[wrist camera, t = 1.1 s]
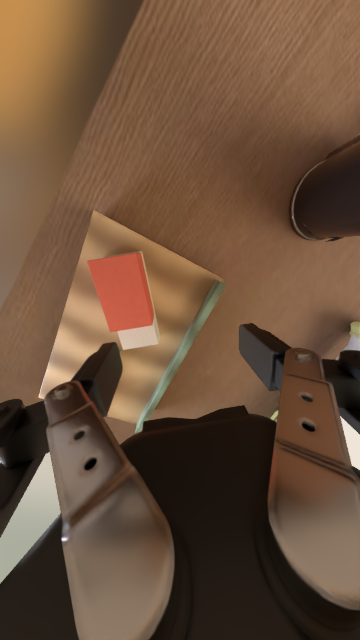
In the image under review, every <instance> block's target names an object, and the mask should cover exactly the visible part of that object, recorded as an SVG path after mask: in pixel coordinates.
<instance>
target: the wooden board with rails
mask: <svg viewBox="0 0 360 640" xmlns="http://www.w3.org/2000/svg"><path fill="white" fill-rule="evenodd" d="M139 251H142V253H143V258H144V263H145V268H146V272H147V277H148V282H149V286H150V291H151V296H152V300H153V305H154V310H155V314H156V319H157V324H158V329H159V333H160V339H159V341H158V344H156V345H150V346H144V347H138V348H132V349H126V350H123V348H122V345H121V342H120V338H119V335H118V332H117V331H116V332H110V330H109V327H108V324H107V321H106V318H105V315H104V312H103V309H102V306H101V303H100V300H99V297H98V294H97V291H96V288H95V285H94V282H93V279H92V276H91V272H90V269H89V266H88V263H87V261H88V260H94V259H100V258H101V257H107V256H114V255H120V254H126V253H132V252H139ZM223 281H224V279H223V278H221V277H219V276H217V275H215V274H213V273H211V272H209V271H207V270H206V269H204V268H202V267H200V266H198V265H196V264H194V263H192V262H191V261H189V260H187V259H185V258H183V257H181V256H179V255H177V254H176V253H174V252H172V251H170V250H168V249H166V248H164V247H162V246H161V245H159V244H157V243H155V242H153V241H151V240H149V239H147V238H146V237H144V236H142V235H140V234H138V233H136V232H134V231H132V230H130V229H129V228H127V227H125V226H123V225H121V224H119V223H117V222H115V221H114V220H112V219H110V218H108V217H106V216H104V215H102V214H100V213H99V212H97V211H95V210H93V214H92V217H91V221H90V224H89V228H88V231H87V234H86V238H85V241H84V245H83V248H82V251H81V255H80V258H79V262H78V265H77V268H76V272H75V275H74V279H73V282H72V286H71V289H70V292H69V296H68V299H67V303H66V306H65V309H64V313H63V316H62V320H61V323H60V326H59V330H58V333H57V337H56V340H55V344H54V347H53V350H52V354H51V357H50V361H49V364H48V367H47V371H46V374H45V378H44V381H43V384H42V388H41V391H40V395H39V398H43V399H44V398H45V396H46V394H47V393H48V392H49V391H50V390H52V389H53V388H55V387H56V386H58V385H60V384H62V383H65V382H68V381H71V379H72V378H73V377H74V375H75V374H76V373H77V371H78V370H79V369H80V368H81V366H82V365H83V364H84V362H85V361H86V359H87V358H88V357H89V356H90V355H92V354H93V353H95V352H97V351H98V350H99V348H100V347H101V345H102V344H103V343H110V342H116V343H117V345H118V349H119V353H120V357H121V360H122V365H123V371H122V375H121V378H120V380H119V383H118V386H117V389H116V392H115V394H114V397H113V400H112V403H111V406H110V409H109V411H108V414H107V416H109V417H112V418H116V419H120V420H123V421H127V422H131V423H134V424H137V425H136V431H135V432H136V433H138V432H141V431H142V428H143V421H148V420H149V418H150V416H151V415H152V413H153V411H154V409H155V408H156V406H157V404H158V402H159V401H160V399H161V397H162V395H163V394H164V392H165V390H166V389H167V387H168V385H169V383H170V382H171V380H172V378H173V376H174V375H175V373H176V371H177V369H178V368H179V366H180V364H181V363H182V361H183V359H184V357H185V356H186V354H187V352H188V350H189V349H190V347H191V345H192V343H193V342H194V340H195V338H196V336H197V335H198V333H199V331H200V330H201V328H202V326H203V324H204V323H205V321H206V319H207V317H208V316H209V314H210V312H211V310H212V309H213V307H214V305H215V304H216V302H217V300H218V298H219V297H220V295H221V293H222V291H223V290H224V288H225V286H226V284H224V283H222V282H223Z"/></svg>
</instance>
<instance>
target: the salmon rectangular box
mask: <svg viewBox="0 0 360 640" xmlns="http://www.w3.org/2000/svg"><path fill="white" fill-rule="evenodd" d="M87 263H88V266H89V269H90V272H91V276H92V279H93V282H94V285H95V288H96V291H97V294H98V297H99V300H100V303H101V306H102V309H103V312H104V315H105V318H106V321H107V324H108V327H109V330H110V332H116V331H117V332H118V335H119V338H120V342H121V345H122V348H123V350H126V349H132V348H138V347H144V346H150V345H156V344H158V341H159V339H160V333H159V329H158V324H157V319H156V314H155V310H154V305H153V300H152V296H151V291H150V286H149V282H148V277H147V272H146V268H145V263H144V258H143V253H142V251H139V252H132V253H126V254H120V255H114V256H107V257H101V258H100V259H94V260H88V261H87Z"/></svg>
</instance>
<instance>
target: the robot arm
mask: <svg viewBox="0 0 360 640" xmlns="http://www.w3.org/2000/svg"><path fill="white" fill-rule="evenodd" d="M290 220H291V224H292V226H293V228H294V230H295V231H296V233H297V234H298V235H299V236H301V237H302V238H304V239H307V240H323V239H327V238H334V239H331V240H328V241H335V240H338V239H340V238H343V237H351V236H360V135H359V136H357V137H356V138H354V139H353V140H351V141H349V142H348V143H346V144H344V145H343V146H341V147H339V148H338V149H336V150H334V151H333V152H331V153H330V154H329V155H328V156H327V158H326V159H325V160H324V161H322V162H320V163H319V164H317V165H315V166H314V167H312V168H311V169H310V170H308V171H307V172H306V173H305V174H304V176H303V177H302V178H301V179H300V181H299V182H298V184H297V186H296V188H295V190H294V192H293V195H292V198H291V202H290ZM325 242H326V241H325ZM239 350H240V353H241V355H242V357H243V358H244V359H245V360H246V362H247V363H248V364H249V366H250V367H251V368H252V369H253V371H254V372H255V373H256V374H257V376H258V377H259V378H260V379H261V381H262V382H263V383H264V384H265V386H266V387H267V388H268V389H269V391H274V390H280V391H281V392H280V400H279V408H278V417H277V422H276V421H274V420H272V419H269V418H267V417H264V416H260V415H255V414H248V412H247V410H246V408H245V406H244V405H243V406H236V407H230V408H224V409H219V410H217V411H214V412H212V413H209V414H207V415H205V416H202V417H200V418H197V419H184V418H170V417H168V418H162V419H155V420H149V421H143V428H142V431H141V432H138V433H137V434H135V435H133V436H131V437H130V438H128V439H127V440H126V441H124V442H123V443H122V444H121V445H119V443H118V442H117V440H116V438H115V437H114V435H113V433H112V432H111V430H110V428H109V427H108V425H107V423H106V422H105V420H104V418H103V417H105V416H107V414H108V411H109V409H110V406H111V403H112V400H113V397H114V394H115V392H116V389H117V386H118V383H119V380H120V378H121V375H122V371H123V365H122V360H121V357H120V353H119V349H118V345H117V343H116V342H110V343H103V344H102V345H101V347H100V348H99V350H98V351H97V352H95V353H93V354H92V355H90V356H89V357H88V358H87V359H86V361H85V362H84V364H83V365H82V366H81V368H80V369H79V370H78V371H77V373H76V374H75V375H74V377H73V378H72V379H71V381H68V382H65V383H62V384H60V385H58V386H56V387H55V388H53V389H52V390H50V391H49V392H48V393H47V394H46V396H45V398H44V401H41V402H38V403H35V404H32V405H30V406H27V407H25V406H24V404H23V402H22V400H20V399H12V400H8V401H5V402H3V403H0V461H1V463H0V537H1V535H2V533H3V532H4V530H5V528H6V526H7V524H8V522H9V520H10V518H11V517H12V515H13V513H14V511H15V509H16V508H17V506H18V504H19V502H20V500H21V498H22V497H23V495H24V493H25V491H26V489H27V487H28V486H29V484H30V482H31V480H32V478H33V476H34V475H35V473H36V471H37V469H38V467H39V465H40V464H41V462H42V460H43V458H44V456H45V454H46V453H48V452H50V455H51V461H52V466H53V471H54V477H55V483H56V488H57V494H58V499H59V505H60V510H61V514H60V515H59V516H58V517H57V518H56V519H55V521H54V522H53V523H52V524H51V525H50V526H49V528H48V529H47V530H46V531H45V532H44V534H43V535H42V536H41V537H40V538H39V539H38V540H37V542H36V543H35V544H34V545H33V546H32V547H31V549H30V550H29V551H28V552H27V553H26V555H25V556H24V557H23V558H22V559H21V560H20V562H19V563H18V564H17V565H16V566H15V567H14V569H13V570H12V571H11V572H10V573H9V575H8V576H7V577H6V578H5V579H4V580H3V581H2V583H1V584H0V640H360V470H358V469H357V468H355V467H353V466H352V465H351V461H350V456H349V453H348V448H347V444H346V440H345V436H344V431H343V427H342V423H341V418H340V416H341V417H342V418H343V419H344V420H345V421H347V423H348V424H349V425H350V426H352V427H353V428H354V429H355V430H356V431H357V432H358V433H359V434H360V351H358V350H344V351H342V352H340V355H339V360H329V359H321V357H320V356H319V355H318V354H316V353H315V352H312V351H310V350H306V349H301V348H291V347H290V346H288V345H287V344H286V343H284V342H283V341H281V340H279V338H277V337H275V336H274V335H273V334H271V333H270V332H268V331H265V330H262V329H260V328H258V327H257V326H256V325H254V324H253V323H250V324H242V325H240V326H239Z"/></svg>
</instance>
